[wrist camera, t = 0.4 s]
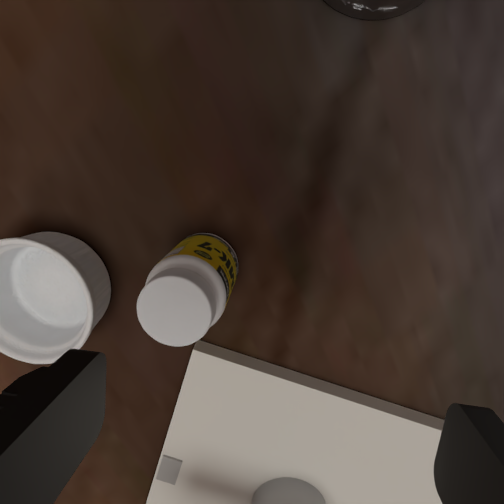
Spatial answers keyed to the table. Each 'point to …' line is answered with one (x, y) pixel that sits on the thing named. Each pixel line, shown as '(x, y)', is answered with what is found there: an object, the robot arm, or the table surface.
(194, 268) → the supplement bottle
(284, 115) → the table surface
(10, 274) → the ramekin
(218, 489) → the base
